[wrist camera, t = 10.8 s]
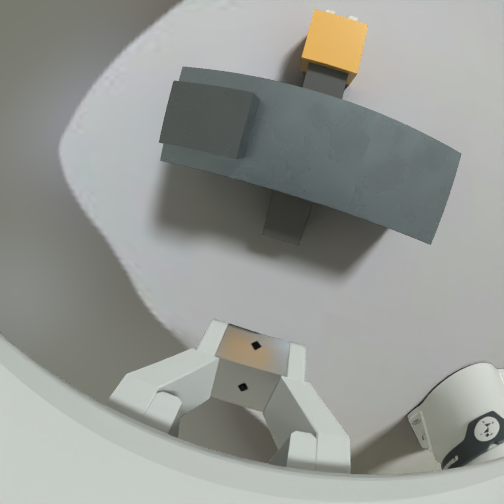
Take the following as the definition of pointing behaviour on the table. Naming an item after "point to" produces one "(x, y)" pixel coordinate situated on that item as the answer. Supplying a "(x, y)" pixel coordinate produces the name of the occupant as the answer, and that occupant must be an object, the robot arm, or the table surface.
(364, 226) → the table surface
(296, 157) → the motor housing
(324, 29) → the plug
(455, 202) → the table surface
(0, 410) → the robot arm
